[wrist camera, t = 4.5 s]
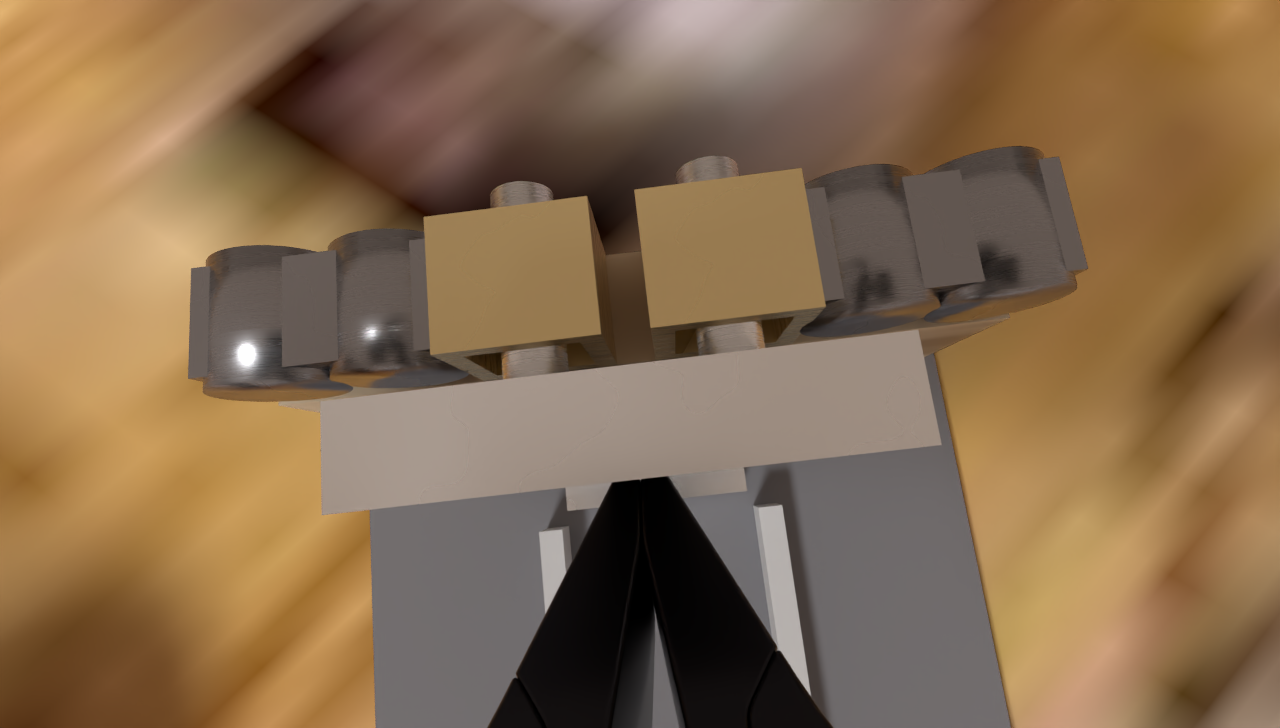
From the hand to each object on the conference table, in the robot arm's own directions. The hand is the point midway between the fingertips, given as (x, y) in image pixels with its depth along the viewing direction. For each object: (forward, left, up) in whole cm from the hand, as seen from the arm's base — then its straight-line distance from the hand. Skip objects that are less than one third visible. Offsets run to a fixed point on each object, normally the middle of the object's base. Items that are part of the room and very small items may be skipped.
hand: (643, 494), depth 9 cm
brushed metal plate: (+2, -2, -7) cm, 7 cm away
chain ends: (+3, -2, -3) cm, 5 cm away
